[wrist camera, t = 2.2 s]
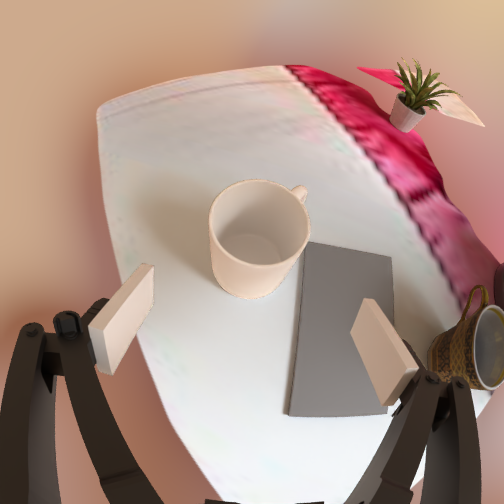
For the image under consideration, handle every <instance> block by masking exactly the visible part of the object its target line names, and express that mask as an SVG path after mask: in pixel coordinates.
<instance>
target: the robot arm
mask: <svg viewBox="0 0 504 504" xmlns="http://www.w3.org/2000/svg"><path fill="white" fill-rule="evenodd" d="M153 287H154V266H153V265H148V264H143V263H142V264H141V265H140V266H139V267H138V269H137V270H136V271H135V272H134V273H133V274H132V275H131V276H130V277H129V278H128V280H127V281H126V282H125V283H124V284H123V285H122V286H121V287H120V289H119V290H118V291H117V292H116V293H115V294H114V296H113V297H112V298H111V299H106V298H102V299H100V300H98V301H96V302H95V303H94V304H93V305H92V306H91V308H89V309H88V310H87V313H85V314H84V315H83V316H82V317H81V318H80V316H79V314H78V313H76V312H73V311H63V312H60V313H58V314H57V315H56V316H55V317H54V319H53V324H54V328H55V331H56V333H46V332H45V331H44V328H43V326H42V325H41V324H38V323H35V322H34V323H29V324H26V325H25V326H23V327H22V329H21V330H20V333H19V336H18V339H17V342H16V345H15V349H14V352H13V356H12V359H11V363H10V367H9V371H8V375H7V379H6V384H5V388H4V394H3V399H2V405H1V411H0V504H61V498H60V491H59V484H58V476H57V468H56V467H57V466H56V452H55V396H56V381H57V375H60V376H65V381H66V385H67V389H68V393H69V397H70V400H71V404H72V407H73V411H74V414H75V417H76V420H77V423H78V426H79V429H80V432H81V435H82V438H83V440H84V443H85V446H86V448H87V450H88V453H89V455H90V458H91V460H92V463H93V465H94V467H95V470H96V472H97V474H98V476H99V479H100V484H101V487H102V489H103V491H104V493H105V495H106V497H107V499H108V501H109V503H110V504H164V503H163V501H162V500H161V498H160V497H159V496H158V494H157V493H156V491H155V490H154V488H153V487H152V485H151V483H150V482H149V480H148V479H147V477H146V476H145V474H144V473H143V471H142V470H141V468H140V467H139V466H138V464H137V462H136V460H135V458H134V457H133V455H132V453H131V451H130V449H129V447H128V445H127V443H126V441H125V440H124V438H123V436H122V434H121V431H120V430H119V427H118V425H117V423H116V421H115V419H114V416H113V414H112V412H111V410H110V407H109V405H108V403H107V400H106V398H105V395H104V393H103V390H102V388H101V385H100V382H99V380H98V377H97V374H96V371H95V368H94V366H95V364H97V368H98V371H99V372H102V373H105V374H108V375H111V376H113V374H114V372H115V370H116V368H117V366H118V365H119V363H120V361H121V359H122V357H123V356H124V354H125V352H126V350H127V349H128V347H129V345H130V343H131V342H132V340H133V338H134V336H135V335H136V333H137V331H138V330H139V328H140V326H141V325H142V323H143V321H144V319H145V318H146V316H147V314H148V313H149V311H150V309H151V308H152V306H153V305H154V293H153ZM494 291H495V301H496V306H498V307H500V308H501V309H502V310H503V311H504V263H502V264H501V265H500V266H499V267H498V268H497V271H496V274H495V282H494ZM350 334H351V336H352V338H353V340H354V342H355V345H356V347H357V349H358V351H359V354H360V356H361V358H362V361H363V363H364V365H365V367H366V370H367V372H368V374H369V377H370V379H371V382H372V384H373V386H374V389H375V391H376V394H377V396H378V399H379V401H380V404H381V406H392V405H394V404H395V402H396V401H397V400H398V398H400V401H401V404H400V405H399V407H398V408H397V409H396V411H395V412H394V413H393V414H392V417H393V416H394V417H393V420H392V422H391V424H390V426H389V428H388V430H387V432H386V434H385V436H384V438H383V440H382V442H381V444H380V446H379V448H378V450H377V452H376V454H375V455H374V457H373V459H372V461H371V463H370V464H369V466H368V468H367V469H366V471H365V473H364V474H363V476H362V478H361V479H360V481H359V482H358V484H357V485H356V487H355V489H354V490H353V492H352V493H351V495H350V496H349V497H348V499H347V500H346V501H345V503H344V504H410V502H411V500H412V497H413V491H410V487H411V484H412V482H413V480H414V477H415V475H416V472H417V469H418V467H419V464H420V461H421V459H422V456H423V453H424V450H425V447H426V444H427V447H426V462H425V472H424V482H423V489H422V496H421V502H420V504H481V460H480V447H479V438H478V430H477V423H476V417H475V411H474V405H473V400H472V395H471V390H470V386H469V384H468V382H467V381H466V380H465V379H464V378H463V377H460V376H455V377H453V378H452V380H451V381H450V383H449V382H443V381H441V379H440V377H439V376H438V375H437V374H436V373H434V372H432V371H426V369H425V368H424V366H423V365H422V363H421V362H420V360H419V358H418V357H417V356H416V354H415V352H413V349H412V348H411V346H410V345H409V344H408V343H407V342H406V341H405V340H403V339H401V338H400V337H399V335H398V334H397V332H396V331H395V329H394V328H393V326H392V325H391V323H390V322H389V320H388V319H387V317H386V316H385V314H384V313H383V312H382V310H381V309H380V307H379V306H378V304H377V303H376V301H375V300H374V299H368V298H364V299H363V302H362V304H361V307H360V310H359V312H358V315H357V317H356V320H355V322H354V324H353V327H352V329H351V332H350ZM205 504H239V503H236V502H225V501H217V500H209V499H205ZM297 504H324V501H322V502H311V503H297Z"/></svg>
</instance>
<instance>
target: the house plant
mask: <svg viewBox="0 0 504 504" xmlns="http://www.w3.org/2000/svg"><path fill="white" fill-rule="evenodd" d="M402 59H403V58H402ZM413 60H414V59H413ZM404 62H405V60H404ZM414 62H415V64H416V66H417V67H416V69H417V78H415V77H414V75H413V74H412V73H411V71H410V69H409V66H408V65H407V63H406V62H405V63H406V65H407V67H408V70H409V73H410V77H411V83H412V88H411V85H410V83H409V80H408V78H407V76H406V74H405V72H404V70H403V68H402V67H401V65H400V64H399V63H398V62H397V64H398V66H399V70H400V74H401V76H402V77H400V76H397V75H394V76H397V77H398V78H400V79H401V80H402V81H403V83H404V84H403V83H401V82H400V84H402V85H403V86H404V87H405V89H406V91H405V92H404V91H402V92H400V93H399V94H398V95H397V97H396V100H395V103H394V106H393V109H392V112H391V115H390V118H389V120H390V122H391V123H392V125H393V126H394V127H395V128H397V129H398V130H400V131H402V132H407V133H408V132H409V131H410V130H411V129H412V128H413V127H414V126H415V125H416V124H417V123H418V122H419V121H420V120H421V119H422V118H423V117H424V116H425V115H426V111H425V109H424V108H423V106H429V107H430V110H431V109H432V108H434V109H436V110H438V109H437V107H436V106H434V105H433V104H436V105H439V106H441V105H440V104H439V103H438V102H437V101H435V100H428V99H430V98H433V97H438V96H448V95H438V96H435V95H437V94H441V93H456V92H455V91H452V90H440V91H438V92H434V93H432V94H430V93H431V92H432V91H433V90H434V89H435V88H436V87H438V86H439V85H440V84H444V83H442V82H439V83H437V84H435V85H434V86H432V87H428V86H429V85H430V84H431V83H432V82H433V81H434V80H435V79H436V78H437V77H438V75H439V74H440V73H435V74H433V75H432V76H431V69H430V72H429V74H428V76H427V77H426V79H425V81H424V84H423V85H422V70H421V69H420V68H421V67H419V65H418V64H417V63H416V61H415V60H414ZM421 85H422V87H421ZM444 85H446V84H444ZM446 86H447V85H446ZM429 94H430V95H429ZM456 94H458V93H456ZM458 95H460V94H458ZM425 100H427V101H425ZM441 108H442V107H441Z"/></svg>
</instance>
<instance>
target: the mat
mask: <svg viewBox="0 0 504 504" xmlns="http://www.w3.org/2000/svg"><path fill="white" fill-rule="evenodd" d="M364 298H368V299H374V300H375V301H376V303H377V304H378V306H379V307H380V309H381V310H382V312H383V313H384V314H385V316H386V317H387V319H388V320H389V322H390V323H391V325H392V326H393V328H394V305H393V277H392V261H391V257H387V256H382V255H377V254H372V253H367V252H362V251H357V250H351V249H346V248H341V247H335V246H330V245H325V244H319V243H314V242H307V244H306V246H305V255H304V270H303V284H302V297H301V309H300V320H299V330H298V340H297V349H296V358H295V367H294V375H293V383H292V390H291V398H290V405H289V412H288V416H293V417H350V416H367V415H379V414H387V410H388V406H381V404H380V401H379V399H378V396H377V394H376V391H375V389H374V386H373V384H372V382H371V379H370V377H369V374H368V372H367V370H366V367H365V365H364V363H363V361H362V358H361V356H360V354H359V351H358V349H357V347H356V345H355V342H354V340H353V338H352V336H351V334H350V332H351V329H352V327H353V324H354V322H355V320H356V317H357V315H358V312H359V310H360V307H361V304H362V302H363V299H364Z"/></svg>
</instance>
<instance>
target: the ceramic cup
mask: <svg viewBox="0 0 504 504" xmlns="http://www.w3.org/2000/svg"><path fill="white" fill-rule="evenodd" d="M477 288H480V289H481V291H482V301H481V305H480V307H479V309H478V310H477V311H476V312H475V313H474V314H473V315H472V316H470V317H469V318H467V319H466V320H465V316H466V313H467V311H468V309H469V307H470V304H471V301H472V297H473V294H474V292H475V290H476V289H477ZM487 305H488V292H487V289H486V288H485V287H484V286H482V285H476V286H475V287H474V288H473V289H472V290H471V292H470V295H469V298H468V302H467V305H466V308H465V310H464V312H463V314H462V317H461V319H460V321H459V322H458V323H457V325H456V326H454V327H453V328H451V329H449V330H448V331H446V332H444V333H442V334H440V335H438V336H437V337H436V338H435V340H434V342H433V343H432V345H431V347H430V348H429V350H428V371H432V372H434V373H436V374H437V375H438V376H439V377H440V379H441V381H443V382H449V383H450V381H451V380H452V378H453V377H455V376H460V377H463V378H464V379H465V380H466V381H467V382H468V384H469V386H470V388H471V389H478V390H495V389H497V388H498V387H499V386H500V385H501V384H502V383H503V382H504V311H503V310H502V309H501V308H500V307H498V306H496V305H488V306H487Z"/></svg>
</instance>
